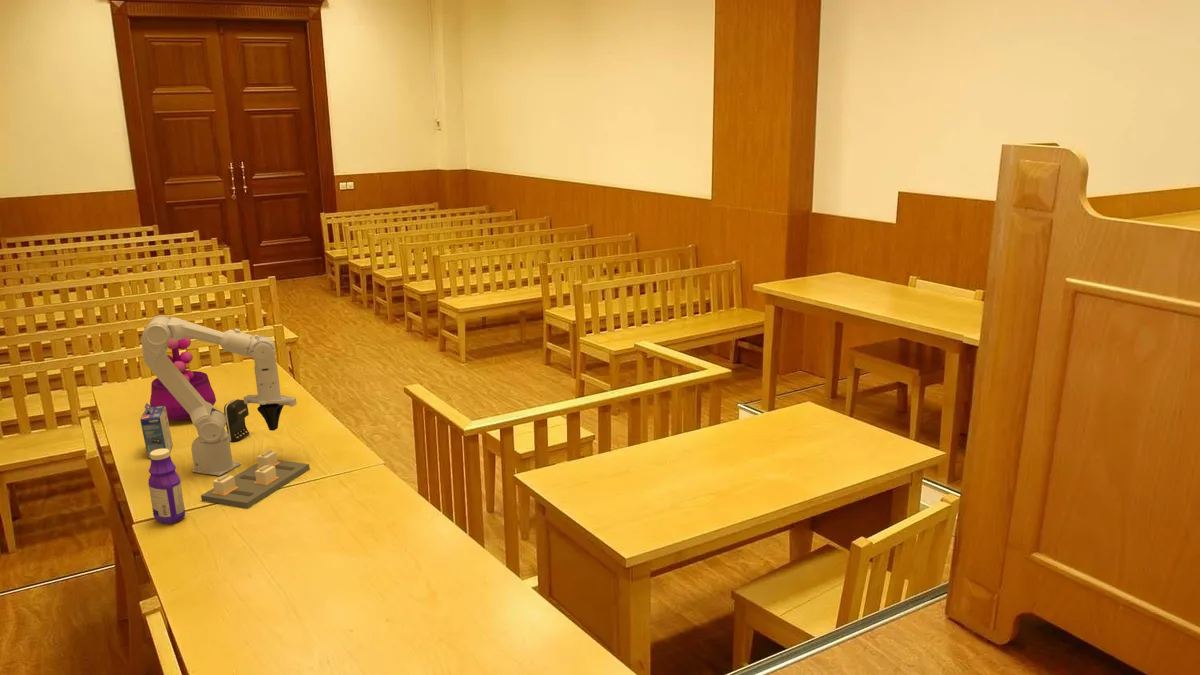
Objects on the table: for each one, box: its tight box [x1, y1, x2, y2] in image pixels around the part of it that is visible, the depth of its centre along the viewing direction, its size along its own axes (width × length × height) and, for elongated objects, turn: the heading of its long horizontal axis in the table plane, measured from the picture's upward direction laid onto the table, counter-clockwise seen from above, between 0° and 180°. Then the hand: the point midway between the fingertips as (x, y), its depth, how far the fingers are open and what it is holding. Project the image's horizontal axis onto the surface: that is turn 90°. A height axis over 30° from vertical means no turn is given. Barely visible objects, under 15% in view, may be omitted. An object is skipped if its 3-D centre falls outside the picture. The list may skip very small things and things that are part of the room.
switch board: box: [200, 459, 311, 509], centre depth 223 cm, size 14×24×2 cm, turn 161°
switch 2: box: [256, 449, 278, 467], centre depth 231 cm, size 3×4×4 cm
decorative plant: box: [149, 338, 217, 421], centre depth 269 cm, size 19×19×30 cm
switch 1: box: [212, 473, 236, 494], centre depth 216 cm, size 3×4×4 cm
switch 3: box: [255, 464, 276, 484], centre depth 222 cm, size 3×4×4 cm
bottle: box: [148, 449, 186, 525], centre depth 203 cm, size 7×6×17 cm
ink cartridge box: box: [139, 402, 173, 459], centre depth 244 cm, size 10×6×14 cm, turn 18°
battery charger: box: [223, 398, 250, 442], centre depth 253 cm, size 7×4×11 cm, turn 167°
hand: (273, 429), depth 235 cm, fingers closed
